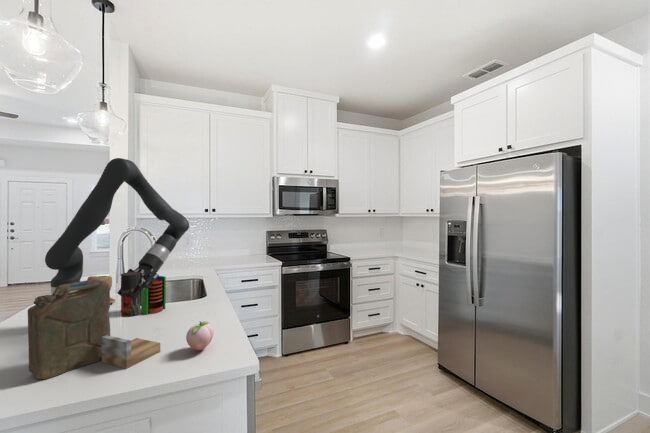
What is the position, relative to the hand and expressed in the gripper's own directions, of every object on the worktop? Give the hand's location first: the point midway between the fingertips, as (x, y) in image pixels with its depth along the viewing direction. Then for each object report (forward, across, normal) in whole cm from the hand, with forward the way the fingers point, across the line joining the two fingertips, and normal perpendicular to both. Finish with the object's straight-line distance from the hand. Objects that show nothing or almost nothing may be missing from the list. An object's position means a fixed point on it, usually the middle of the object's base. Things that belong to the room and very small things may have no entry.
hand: (126, 295), depth 111 cm
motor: (-8, -21, +33) cm, 40 cm away
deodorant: (+4, 0, +6) cm, 8 cm away
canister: (+25, 0, 0) cm, 25 cm away
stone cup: (-5, -55, +31) cm, 63 cm away
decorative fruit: (+9, +29, +15) cm, 34 cm away
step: (+17, +12, +7) cm, 22 cm away
